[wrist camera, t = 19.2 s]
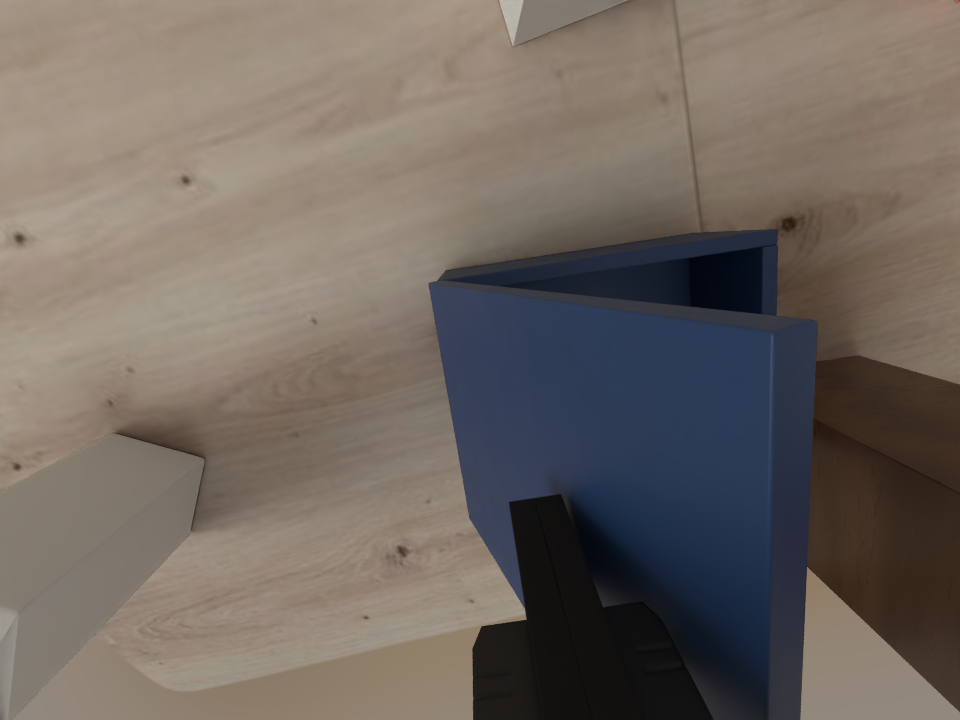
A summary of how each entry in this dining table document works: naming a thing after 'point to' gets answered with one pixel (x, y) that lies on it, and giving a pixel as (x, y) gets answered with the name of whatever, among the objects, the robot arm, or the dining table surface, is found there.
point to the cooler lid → (650, 464)
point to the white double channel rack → (547, 15)
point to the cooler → (653, 271)
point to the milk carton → (83, 550)
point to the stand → (890, 507)
